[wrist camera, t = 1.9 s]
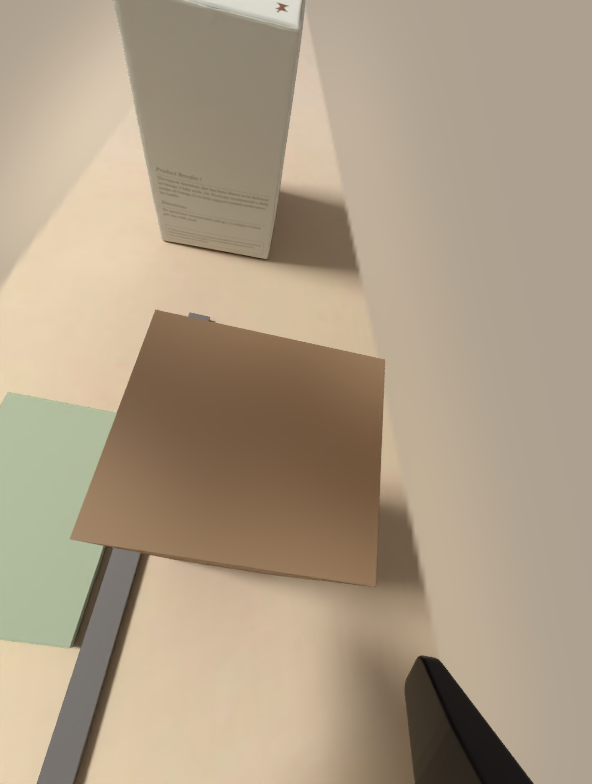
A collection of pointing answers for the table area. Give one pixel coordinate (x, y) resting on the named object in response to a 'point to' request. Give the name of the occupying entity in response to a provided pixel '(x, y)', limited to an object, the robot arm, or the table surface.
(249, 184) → the supplement box
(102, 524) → the walnut post
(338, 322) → the table surface
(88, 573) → the mat
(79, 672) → the charcoal strip
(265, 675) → the table surface
